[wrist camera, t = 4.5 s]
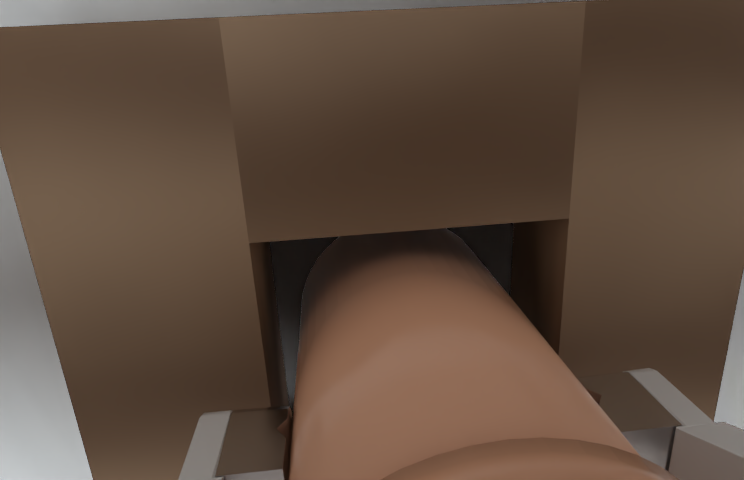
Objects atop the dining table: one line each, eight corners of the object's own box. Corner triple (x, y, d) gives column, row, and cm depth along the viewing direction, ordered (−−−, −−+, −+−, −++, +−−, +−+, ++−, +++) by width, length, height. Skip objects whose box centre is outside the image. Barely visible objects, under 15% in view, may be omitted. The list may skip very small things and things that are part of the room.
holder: (57, 37, 11) (-34, 28, 8) (686, 8, 12) (798, -9, 9) (172, 539, 16) (139, 644, 13) (621, 486, 17) (683, 573, 14)
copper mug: (282, 217, 13) (210, 524, 4) (498, 201, 13) (823, 453, 5) (312, 482, 15) (303, 997, 7) (490, 463, 16) (689, 926, 7)
